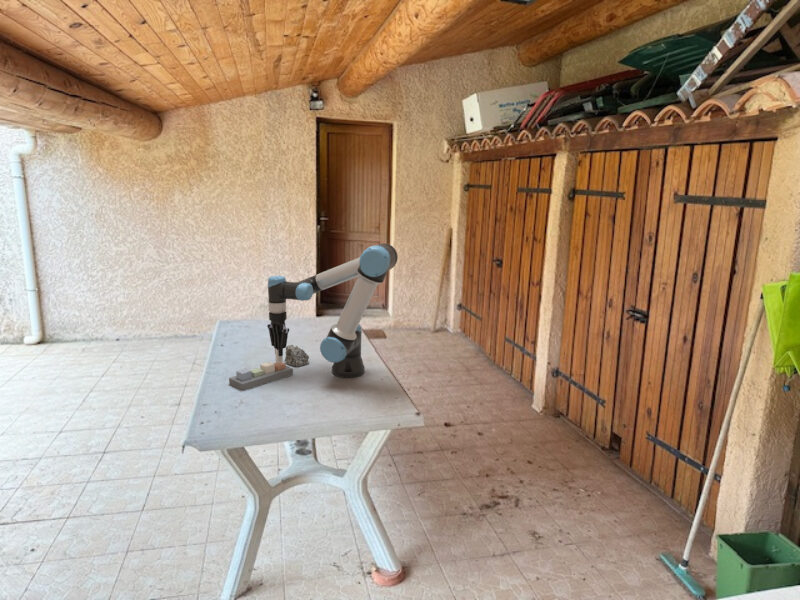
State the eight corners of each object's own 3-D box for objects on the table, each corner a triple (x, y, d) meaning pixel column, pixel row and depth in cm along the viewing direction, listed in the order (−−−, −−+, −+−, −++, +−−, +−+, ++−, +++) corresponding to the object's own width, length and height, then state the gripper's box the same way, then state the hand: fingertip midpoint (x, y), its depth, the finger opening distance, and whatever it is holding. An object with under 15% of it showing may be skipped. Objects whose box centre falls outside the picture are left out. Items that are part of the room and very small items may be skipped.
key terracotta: (285, 372, 231) (285, 363, 230) (277, 374, 228) (277, 366, 227) (279, 369, 234) (279, 361, 233) (271, 372, 231) (271, 363, 230)
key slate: (251, 380, 217) (251, 371, 217) (242, 382, 214) (242, 373, 213) (245, 377, 220) (245, 368, 219) (236, 380, 217) (236, 371, 216)
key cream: (274, 372, 227) (274, 364, 226) (266, 375, 223) (266, 366, 222) (268, 370, 229) (268, 361, 228) (260, 372, 226) (260, 364, 225)
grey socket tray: (293, 374, 231) (292, 368, 230) (242, 391, 212) (242, 384, 211) (279, 369, 237) (279, 363, 237) (229, 384, 218) (229, 377, 217)
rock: (276, 366, 246) (279, 354, 239) (286, 352, 253) (289, 340, 246) (301, 378, 246) (304, 367, 239) (310, 363, 252) (314, 352, 245)
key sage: (263, 379, 222) (263, 370, 221) (254, 381, 219) (254, 373, 218) (257, 376, 225) (257, 368, 224) (248, 379, 222) (248, 370, 221)
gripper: (293, 312, 224) (295, 363, 229) (275, 307, 232) (277, 357, 237) (279, 315, 218) (281, 367, 223) (261, 310, 226) (263, 361, 231)
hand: (279, 362), depth 230 cm, fingers closed
